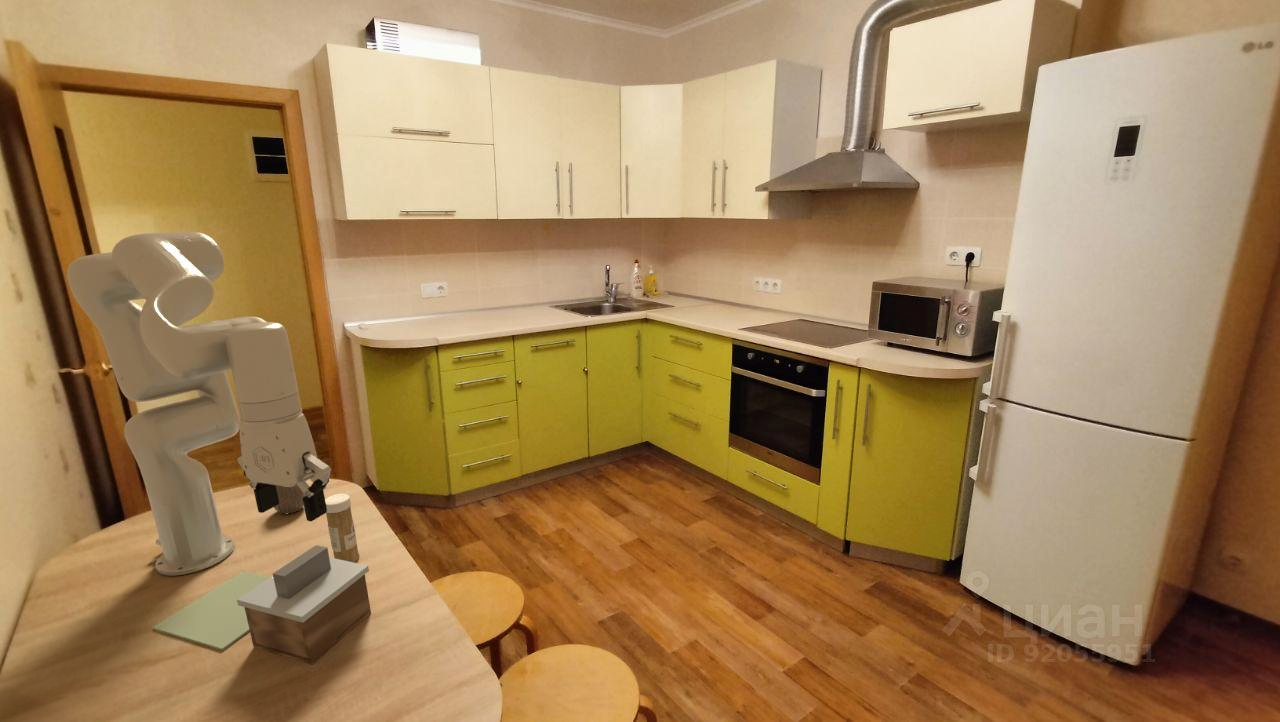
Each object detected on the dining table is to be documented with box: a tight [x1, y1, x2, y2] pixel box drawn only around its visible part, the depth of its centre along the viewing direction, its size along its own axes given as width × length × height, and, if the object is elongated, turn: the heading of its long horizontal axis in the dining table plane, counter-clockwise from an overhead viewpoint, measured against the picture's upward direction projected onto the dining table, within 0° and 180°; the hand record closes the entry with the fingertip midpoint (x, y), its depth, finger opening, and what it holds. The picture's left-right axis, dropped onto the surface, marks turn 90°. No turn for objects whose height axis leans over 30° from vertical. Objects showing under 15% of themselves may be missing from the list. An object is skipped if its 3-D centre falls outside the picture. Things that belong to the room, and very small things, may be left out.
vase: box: [273, 484, 306, 514], centre depth 132 cm, size 7×7×9 cm
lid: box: [237, 544, 370, 623], centre depth 93 cm, size 13×13×6 cm
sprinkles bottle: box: [325, 493, 361, 563], centre depth 112 cm, size 5×5×13 cm
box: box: [244, 574, 372, 665], centre depth 94 cm, size 12×12×8 cm
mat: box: [151, 570, 272, 651], centre depth 101 cm, size 16×16×1 cm
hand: (292, 512), depth 89 cm, fingers open, 9 cm apart
